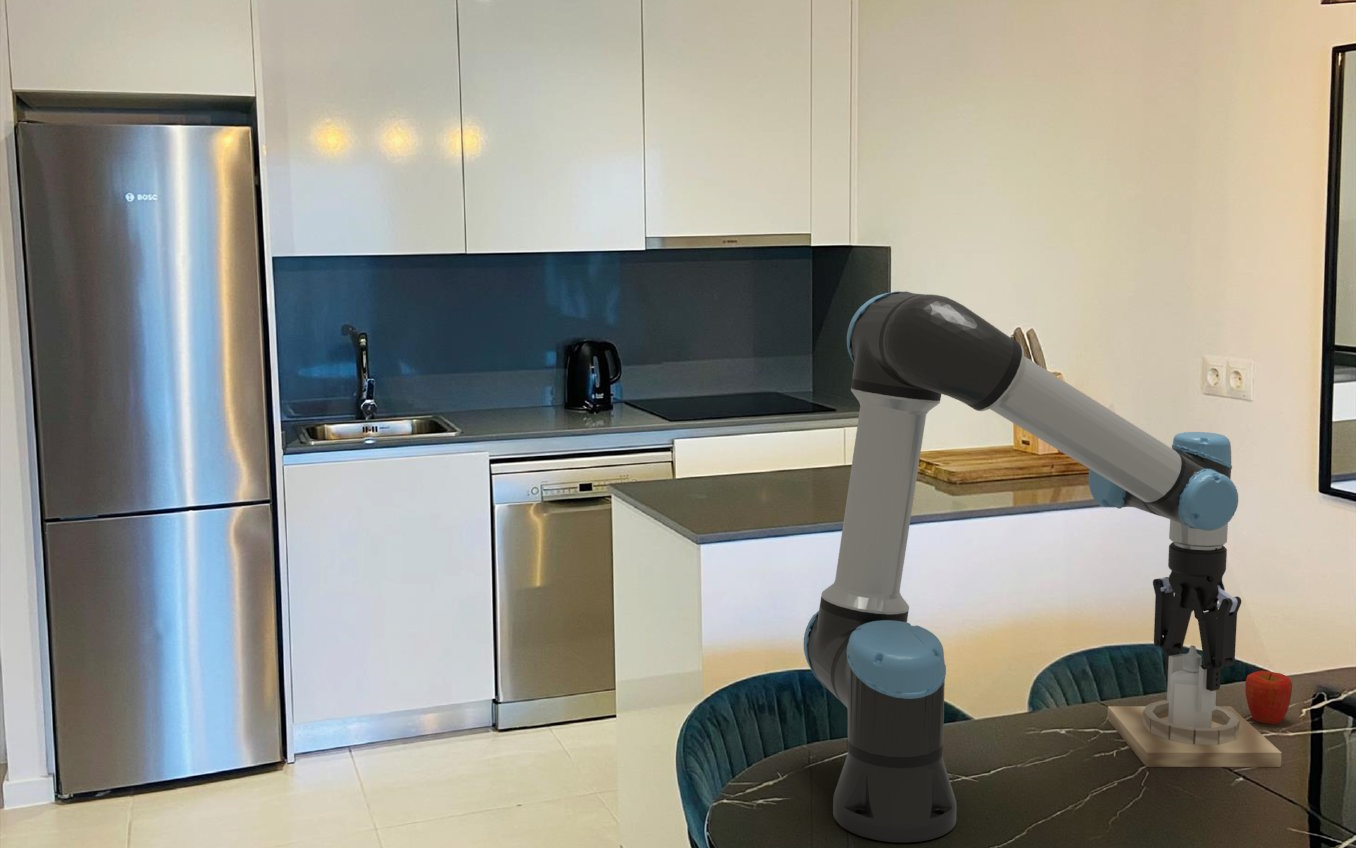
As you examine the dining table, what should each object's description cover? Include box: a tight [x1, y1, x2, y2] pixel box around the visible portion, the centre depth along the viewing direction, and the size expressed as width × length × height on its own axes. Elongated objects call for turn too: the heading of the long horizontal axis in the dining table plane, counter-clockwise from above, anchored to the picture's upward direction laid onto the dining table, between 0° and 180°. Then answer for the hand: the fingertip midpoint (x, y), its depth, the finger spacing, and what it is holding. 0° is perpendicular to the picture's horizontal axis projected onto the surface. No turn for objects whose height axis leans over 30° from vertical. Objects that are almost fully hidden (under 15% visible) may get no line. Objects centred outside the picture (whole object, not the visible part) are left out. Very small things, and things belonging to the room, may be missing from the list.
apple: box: [1244, 670, 1293, 725], centre depth 194 cm, size 6×6×8 cm
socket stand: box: [1106, 699, 1283, 768], centre depth 187 cm, size 18×18×4 cm
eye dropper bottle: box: [1168, 645, 1212, 728], centre depth 186 cm, size 4×6×12 cm
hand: (1190, 704), depth 186 cm, fingers closed on eye dropper bottle, 5 cm apart
